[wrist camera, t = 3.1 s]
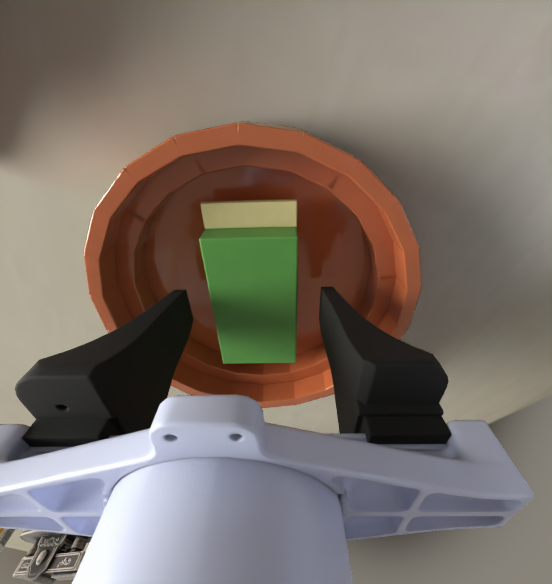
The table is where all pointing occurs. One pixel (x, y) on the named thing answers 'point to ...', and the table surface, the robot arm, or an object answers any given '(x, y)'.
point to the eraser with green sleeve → (252, 277)
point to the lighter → (51, 556)
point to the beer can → (5, 536)
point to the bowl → (311, 247)
